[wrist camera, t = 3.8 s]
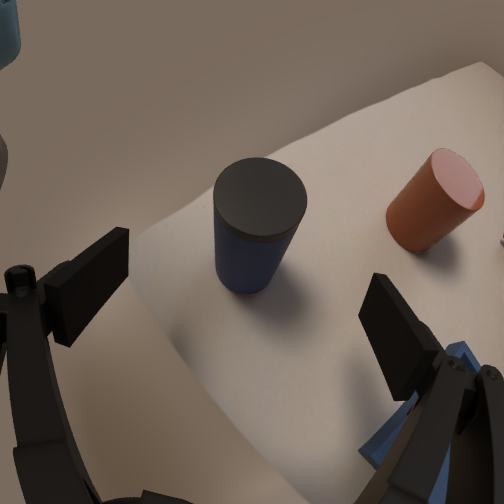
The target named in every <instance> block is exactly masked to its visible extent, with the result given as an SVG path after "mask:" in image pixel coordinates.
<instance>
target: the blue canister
mask: <svg viewBox="0 0 504 504" xmlns="http://www.w3.org/2000/svg"><path fill="white" fill-rule="evenodd" d="M213 203H214V239H215V265H216V272H217V275H218V277H219V279H220V281H221V282H222V283H223V284H224V285H225V286H226V287H227V288H229V289H230V290H232V291H235V292H238V293H243V294H249V293H254V292H257V291H260V290H262V289H263V288H265V287H266V286H267V285H268V284H269V283H270V281H271V280H272V278H273V276H274V274H275V272H276V270H277V268H278V266H279V264H280V262H281V260H282V258H283V256H284V254H285V252H286V250H287V248H288V246H289V244H290V242H291V240H292V238H293V236H294V234H295V232H296V230H297V228H298V226H299V224H300V222H301V220H302V218H303V216H304V214H305V211H306V208H307V194H306V190H305V187H304V185H303V183H302V181H301V180H300V178H299V177H298V176H297V174H296V173H295V172H293V171H292V170H291V169H290V168H289V167H287V166H285V165H284V164H282V163H280V162H277V161H274V160H271V159H267V158H247V159H243V160H240V161H237V162H235V163H233V164H231V165H230V166H228V167H227V168H226V169H225V170H224V171H223V172H222V173H221V174H220V175H219V177H218V178H217V180H216V183H215V186H214V191H213Z"/></svg>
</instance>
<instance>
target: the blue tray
mask: <svg viewBox="0 0 504 504" xmlns="http://www.w3.org/2000/svg"><path fill="white" fill-rule="evenodd" d="M445 352H446V353H447V355H453V356H455V357H458V358H459V359H461V360H462V361H463V362H464V363H465V364H466V365H467V367H468V371H471V372H475V373H478V372H479V370H480V369H481V366H480V364H479V363H478V361H477V360H476V358H475V356H474V355H473V353H472V352H471V350H470V349H469V347H468V346H467V344H466V343H465V341H461V342H457V343H453V344H449V345H448V347H447V348H446V350H445ZM418 397H419V396H418V394H417V392H416V390H415V392H414V393H413V395H412V396H411V398H410V399H409V401H405V402H404V403H403V404H402V406H401V407H400V408H399V409H398V410H397V411H396V412H395V413H394V415H393V416H392V417H391V418H390V419H389V420H388V421H387V422H386V423H385V424H384V425H383V426H382V427H381V428H380V429H379V430H378V432H377V433H376V434H375V435H374V436H373V437H372V438H371V439H370V440H369V441H368V442H366V443H365V444H364V445H363V446H362V447H361V448H360V449H359V450H358V451H359V452H360V453H361V455H362V456H363V457H364V458H365V459H366V460H367V461H368V462H369V463H370V464H371V465H372V466H373V467H374V468H375V469H376V470H377V469H378V468H379V466H380V464H381V463H382V461H383V460H384V458H385V456H386V455H387V453H388V451H389V450H390V448H391V446H392V444H393V443H394V441H395V439H396V437H397V436H398V434H399V432H400V430H401V428H402V426H403V424H404V423H405V421H406V419H407V417H408V415H406V414H407V412H408V411H409V410H410V408H411V407H412V406H413V404H414V403H415V401H416V400H417V398H418ZM449 460H450V445H449V448H448V451H447V454H446V457H445V460H444V462H443V465H442V468H441V470H440V473H439V476H438V478H437V481H436V483H435V485H434V488H433V490H432V493H431V495H430V497H429V500H428V503H430V504H445V500H446V492H447V483H448V473H449Z"/></svg>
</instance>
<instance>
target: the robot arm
mask: <svg viewBox="0 0 504 504" xmlns="http://www.w3.org/2000/svg"><path fill="white" fill-rule="evenodd" d="M20 48H21V38H20V29H19V21H18V13H17V5H16V0H0V70H1V69H3V68H4V67H6V66H7V65H9V64H10V63H11V62H13V61H14V60H15V59H16V57H17V56H18V54H19V52H20ZM128 263H129V229H126V228H121V227H116V228H114V229H113V230H111V231H110V232H109V233H107V234H106V235H105V236H103V237H102V238H100V239H99V240H98V241H96V242H95V243H94V244H92V245H91V246H90V247H88V248H87V249H86V250H84V251H83V252H82V253H80V254H79V255H78V256H77V257H75V258H74V259H73V260H71V261H65V262H63V263H60V264H58V265H57V266H56V267H54V268H53V270H51V271H49V272H48V274H46V275H44V276H43V277H42V278H41V279H39V280H38V281H37V282H36V277H35V271H34V268H33V267H31V266H29V265H17V266H13V267H11V268H9V269H8V270H7V271H6V272H5V274H4V277H5V282H6V287H7V292H8V294H6V293H5V294H4V293H0V374H1V369H2V365H3V362H4V358H5V354H6V350H7V369H8V381H9V392H10V401H11V409H12V416H13V423H14V429H15V434H16V439H17V447H15V448H13V456H14V462H15V466H16V470H17V474H18V478H19V481H20V485H21V489H22V492H23V496H24V499H25V502H26V504H193V503H190V502H188V501H186V500H183V499H178V498H174V497H170V496H165V495H162V494H158V493H154V492H150V491H146V490H143V492H142V496H141V498H139V497H129V498H128V497H126V498H118V499H113V500H109V501H105V502H102V501H101V499H100V497H99V495H98V493H97V491H96V489H95V487H94V486H93V484H92V481H91V479H90V477H89V475H88V473H87V470H86V468H85V466H84V463H83V460H82V458H81V455H80V453H79V450H78V448H77V445H76V442H75V439H74V437H73V433H72V431H71V428H70V425H69V422H68V419H67V415H66V412H65V409H64V405H63V402H62V398H61V394H60V391H59V387H58V383H57V379H56V375H55V370H54V366H53V362H52V357H51V352H50V346H49V342H48V338H47V336H48V335H49V334H50V332H53V336H54V341H55V342H56V343H58V344H61V345H64V346H67V347H69V348H70V347H71V345H72V344H73V343H74V341H75V340H76V339H77V337H78V336H79V335H80V334H81V332H82V331H83V330H84V329H85V327H86V326H87V325H88V324H89V322H90V321H91V320H92V318H93V317H94V316H95V315H96V314H97V312H98V311H99V310H100V309H101V307H102V306H103V305H104V304H105V303H106V302H107V300H108V299H109V298H110V297H111V295H112V294H113V293H114V292H115V291H116V290H117V288H118V287H119V286H120V285H121V284H122V283H123V281H124V280H125V279H126V278H127V277H128ZM358 317H359V319H360V321H361V323H362V326H363V328H364V330H365V332H366V335H367V337H368V339H369V341H370V344H371V346H372V348H373V351H374V353H375V356H376V358H377V360H378V363H379V365H380V367H381V370H382V372H383V375H384V377H385V380H386V382H387V385H388V387H389V390H390V392H391V395H392V397H393V400H394V401H409V399H410V398H411V396H412V395H413V393H414V392H415V390H416V392H417V394H418V396H419V397H418V398H417V400H416V401H415V403H414V404H413V406H412V407H411V408H410V410H409V411H408V412H407V414H406V415H408V417H407V419H406V421H405V423H404V424H403V426H402V428H401V430H400V432H399V434H398V436H397V437H396V439H395V441H394V443H393V444H392V446H391V448H390V450H389V451H388V453H387V455H386V456H385V458H384V460H383V461H382V463H381V464H380V466H379V468H378V469H377V471H376V472H375V474H374V475H373V477H372V478H371V480H370V481H369V483H368V484H367V486H366V487H365V489H364V490H363V492H362V493H361V494H360V496H359V497H358V499H357V500H356V501H355V503H354V504H430V503H428V500H429V497H430V495H431V493H432V490H433V488H434V485H435V483H436V481H437V478H438V476H439V473H440V470H441V468H442V465H443V462H444V460H445V457H446V454H447V451H448V448H449V445H450V460H449V473H448V483H447V492H446V500H445V504H504V380H503V377H502V374H501V373H500V372H499V370H498V369H497V368H495V367H493V366H490V365H483V366H482V367H481V369H480V370H479V372H478V373H475V372H471V371H468V367H467V365H466V364H465V363H464V362H463V361H462V360H461V359H459V358H458V357H455V356H453V355H447V353H446V352H445V350H444V349H443V347H442V346H441V345H440V343H439V342H438V341H437V339H436V337H435V336H434V335H433V333H432V331H431V330H430V329H429V327H428V326H426V325H425V324H424V323H423V322H422V321H419V319H418V318H417V316H416V315H415V313H414V312H413V311H412V309H411V308H410V306H409V305H408V304H407V302H406V301H405V300H404V298H403V297H402V295H401V294H400V293H399V291H398V290H397V289H396V287H395V286H394V285H393V283H392V282H391V281H390V279H389V278H388V277H387V275H385V274H379V273H374V274H373V276H372V279H371V282H370V285H369V288H368V290H367V293H366V296H365V299H364V301H363V304H362V307H361V309H360V312H359V314H358Z"/></svg>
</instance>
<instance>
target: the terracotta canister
mask: <svg viewBox="0 0 504 504" xmlns="http://www.w3.org/2000/svg"><path fill="white" fill-rule="evenodd" d="M484 199H485V195H484V189H483V186H482V183H481V181H480V179H479V177H478V175H477V173H476V172H475V170H474V169H473V168H472V167H471V165H470V164H469V163H468V162H467V161H466V160H465V159H464V158H462V157H461V156H460V155H458V154H457V153H455V152H453V151H451V150H448V149H443V148H441V149H437V150H435V151H434V152H433V153H432V154H431V155H430V157H429V158H428V159H427V160H426V162H425V163H424V164H423V165H422V166H421V168H420V169H419V170H418V171H417V173H416V174H415V175H414V176H413V177H412V179H411V180H410V181H409V182H408V183H407V185H406V186H405V187H404V188H403V189H402V190H401V192H400V193H399V194H398V195H397V196H396V197H395V199H394V200H393V201H392V202H391V203H390V205H389V206H388V208H387V211H386V222H387V226H388V228H389V231H390V233H391V234H392V236H393V238H394V239H395V240H396V241H397V242H398V243H399V244H400V245H401V246H402V247H404V248H405V249H407V250H409V251H412V252H424V251H426V250H428V249H429V248H431V247H432V246H433V245H435V244H436V243H437V242H439V241H440V240H441V239H443V238H444V237H445V236H447V235H448V234H449V233H450V232H452V231H453V230H454V229H456V228H457V227H458V226H459V225H461V224H462V223H463V222H464V221H466V220H467V219H468V218H469V217H471V216H472V215H473V214H474V213H475V212H477V211H478V210H479V209H480V208H481V207H482V206H483V204H484Z"/></svg>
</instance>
